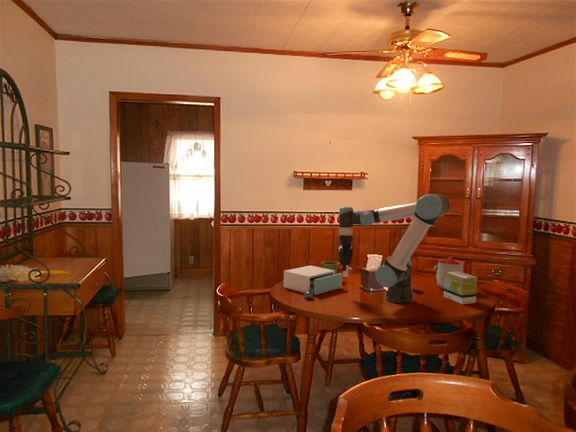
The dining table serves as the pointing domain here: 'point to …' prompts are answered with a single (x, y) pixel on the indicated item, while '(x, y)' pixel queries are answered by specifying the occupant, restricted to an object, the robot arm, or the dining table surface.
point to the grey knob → (308, 295)
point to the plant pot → (330, 265)
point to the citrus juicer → (447, 269)
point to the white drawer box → (304, 277)
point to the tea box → (460, 287)
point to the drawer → (326, 284)
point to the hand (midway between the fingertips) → (345, 276)
